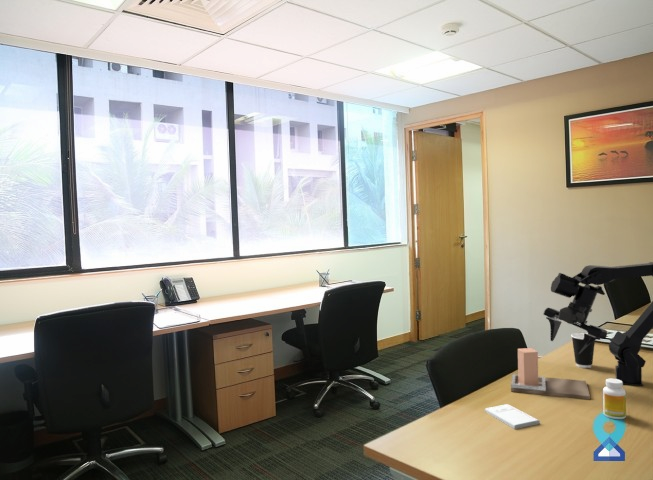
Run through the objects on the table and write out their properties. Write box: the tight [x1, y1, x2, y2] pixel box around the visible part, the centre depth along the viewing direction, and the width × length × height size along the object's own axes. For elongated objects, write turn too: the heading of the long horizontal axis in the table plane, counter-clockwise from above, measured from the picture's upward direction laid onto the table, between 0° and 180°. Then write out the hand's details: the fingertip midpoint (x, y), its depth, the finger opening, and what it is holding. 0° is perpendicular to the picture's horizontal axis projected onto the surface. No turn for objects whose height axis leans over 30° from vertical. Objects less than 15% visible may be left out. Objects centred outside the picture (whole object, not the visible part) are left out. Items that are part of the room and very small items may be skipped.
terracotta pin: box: [517, 347, 539, 386], centre depth 155 cm, size 4×4×11 cm
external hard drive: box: [484, 403, 541, 430], centre depth 134 cm, size 2×8×12 cm
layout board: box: [510, 373, 591, 400], centre depth 155 cm, size 22×14×2 cm, turn 66°
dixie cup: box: [570, 332, 596, 369], centre depth 174 cm, size 8×8×11 cm
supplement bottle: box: [602, 377, 627, 420], centre depth 132 cm, size 5×5×10 cm
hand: (564, 347), depth 158 cm, fingers open, 9 cm apart
